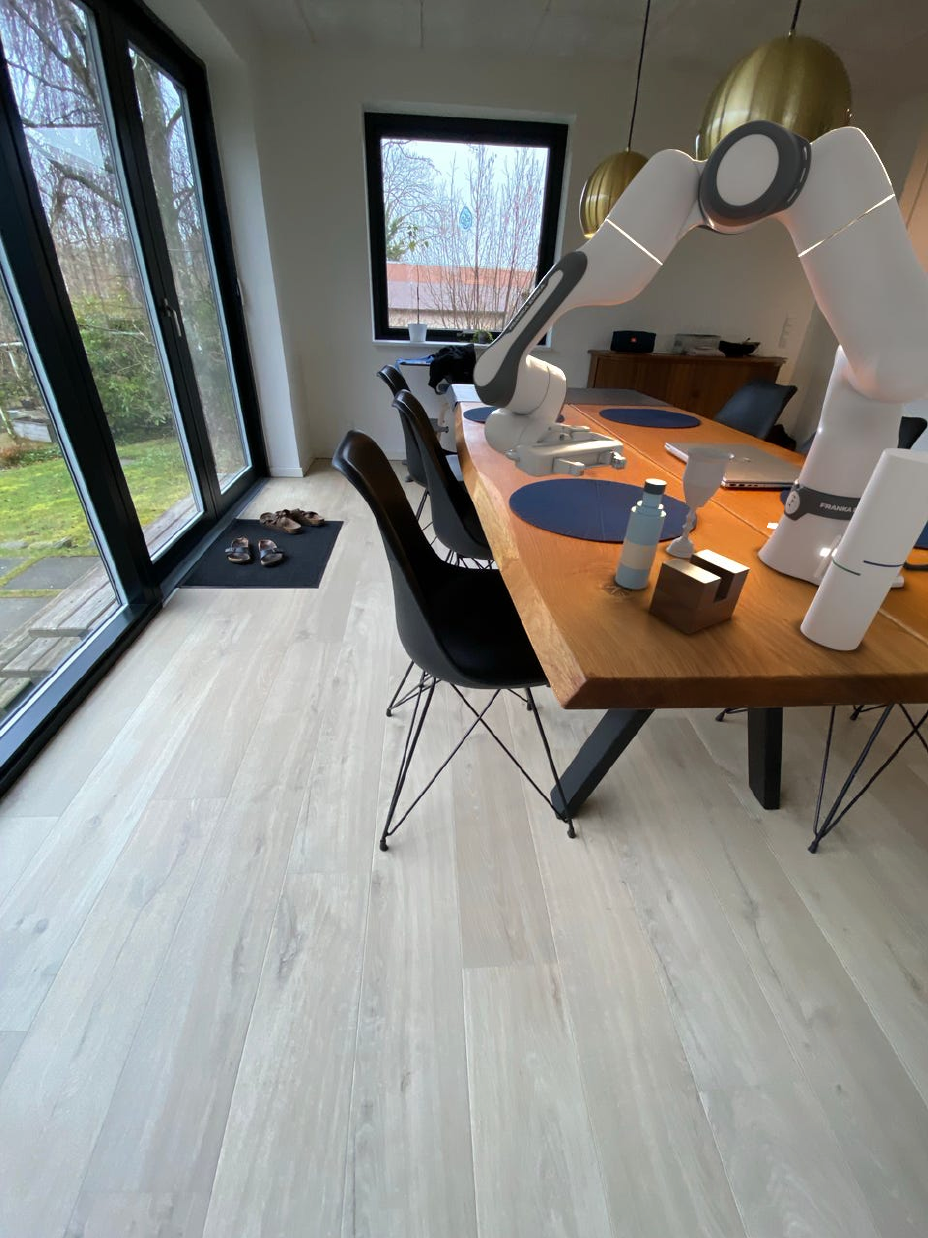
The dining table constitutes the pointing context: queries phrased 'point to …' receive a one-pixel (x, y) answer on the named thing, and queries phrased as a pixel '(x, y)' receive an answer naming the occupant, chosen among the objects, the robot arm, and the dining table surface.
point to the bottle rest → (697, 591)
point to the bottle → (642, 537)
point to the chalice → (699, 490)
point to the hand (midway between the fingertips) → (602, 467)
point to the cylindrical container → (871, 550)
